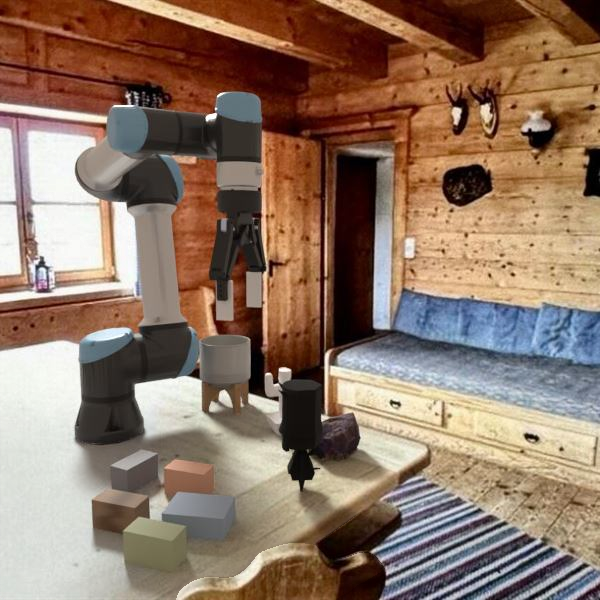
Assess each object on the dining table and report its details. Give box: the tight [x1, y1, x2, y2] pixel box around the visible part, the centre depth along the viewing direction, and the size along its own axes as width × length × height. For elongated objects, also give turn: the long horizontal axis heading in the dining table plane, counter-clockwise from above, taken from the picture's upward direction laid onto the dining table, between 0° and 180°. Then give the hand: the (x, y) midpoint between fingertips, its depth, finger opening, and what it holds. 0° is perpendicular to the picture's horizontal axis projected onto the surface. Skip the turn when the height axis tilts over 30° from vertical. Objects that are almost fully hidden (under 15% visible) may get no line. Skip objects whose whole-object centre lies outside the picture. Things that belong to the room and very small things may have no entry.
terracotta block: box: [163, 458, 216, 496], centre depth 103 cm, size 8×4×5 cm, turn 72°
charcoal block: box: [110, 448, 159, 493], centre depth 105 cm, size 8×4×5 cm, turn 152°
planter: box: [199, 334, 252, 415], centre depth 146 cm, size 13×13×18 cm
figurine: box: [264, 366, 292, 437], centre depth 130 cm, size 7×9×15 cm
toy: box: [276, 379, 327, 493], centre depth 103 cm, size 8×9×20 cm
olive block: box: [122, 517, 188, 574], centre depth 83 cm, size 8×4×5 cm, turn 72°
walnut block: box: [90, 488, 151, 535], centre depth 91 cm, size 8×4×5 cm, turn 72°
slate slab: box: [161, 492, 236, 542], centre depth 92 cm, size 10×7×4 cm
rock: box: [307, 411, 362, 461], centre depth 118 cm, size 12×9×10 cm
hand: (240, 313), depth 99 cm, fingers open, 13 cm apart
